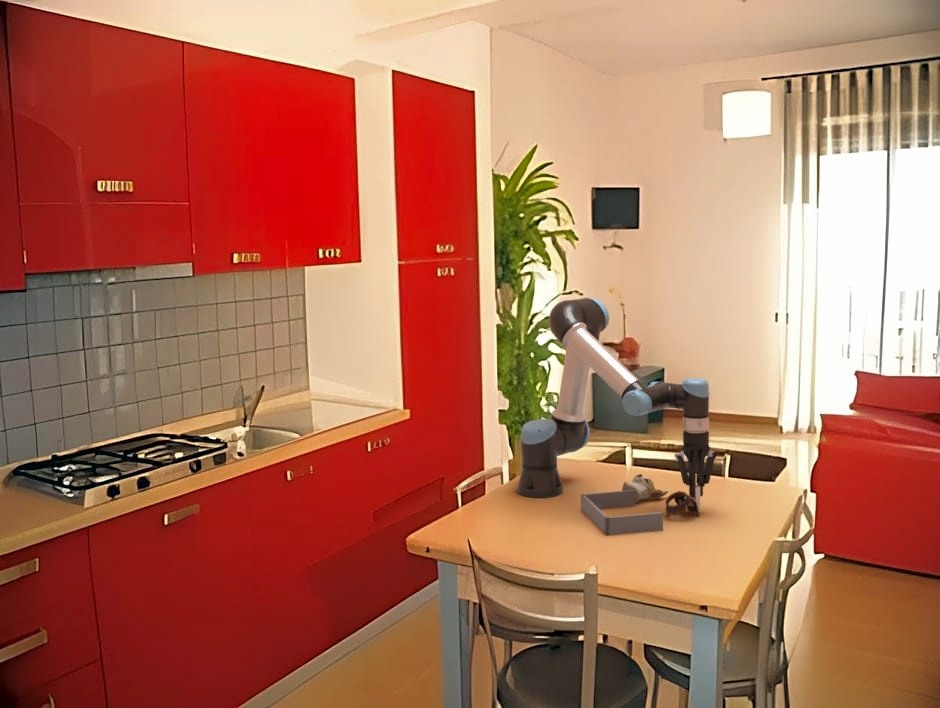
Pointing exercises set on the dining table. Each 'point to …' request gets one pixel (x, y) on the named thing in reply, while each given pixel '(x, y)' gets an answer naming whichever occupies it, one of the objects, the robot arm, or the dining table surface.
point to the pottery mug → (681, 504)
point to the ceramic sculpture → (643, 488)
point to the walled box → (618, 523)
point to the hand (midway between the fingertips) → (696, 506)
